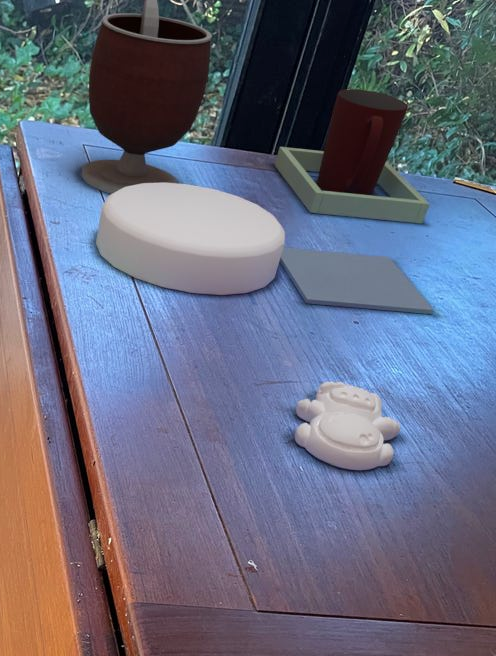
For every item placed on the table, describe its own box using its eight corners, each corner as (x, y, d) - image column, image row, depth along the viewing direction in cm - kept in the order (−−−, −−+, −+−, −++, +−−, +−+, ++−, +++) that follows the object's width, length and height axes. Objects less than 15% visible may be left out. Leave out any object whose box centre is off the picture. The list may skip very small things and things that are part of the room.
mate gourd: (193, 206, 122) (235, 18, 109) (81, 195, 120) (110, 3, 107) (170, 164, 133) (205, -11, 120) (68, 154, 132) (92, -25, 118)
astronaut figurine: (402, 417, 87) (415, 386, 85) (384, 482, 79) (399, 449, 77) (304, 388, 89) (315, 357, 87) (277, 449, 81) (288, 416, 79)
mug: (385, 214, 128) (418, 121, 121) (316, 203, 128) (345, 109, 121) (371, 184, 137) (401, 96, 129) (308, 174, 137) (334, 85, 130)
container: (195, 214, 120) (204, 173, 117) (313, 280, 108) (327, 237, 105) (60, 231, 111) (66, 188, 108) (173, 306, 99) (184, 260, 96)
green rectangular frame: (376, 176, 140) (383, 157, 138) (422, 223, 127) (430, 203, 125) (274, 165, 138) (279, 146, 136) (310, 212, 125) (316, 192, 123)
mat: (388, 261, 115) (390, 257, 115) (432, 314, 105) (434, 310, 105) (272, 250, 114) (273, 246, 113) (305, 303, 104) (307, 298, 103)
